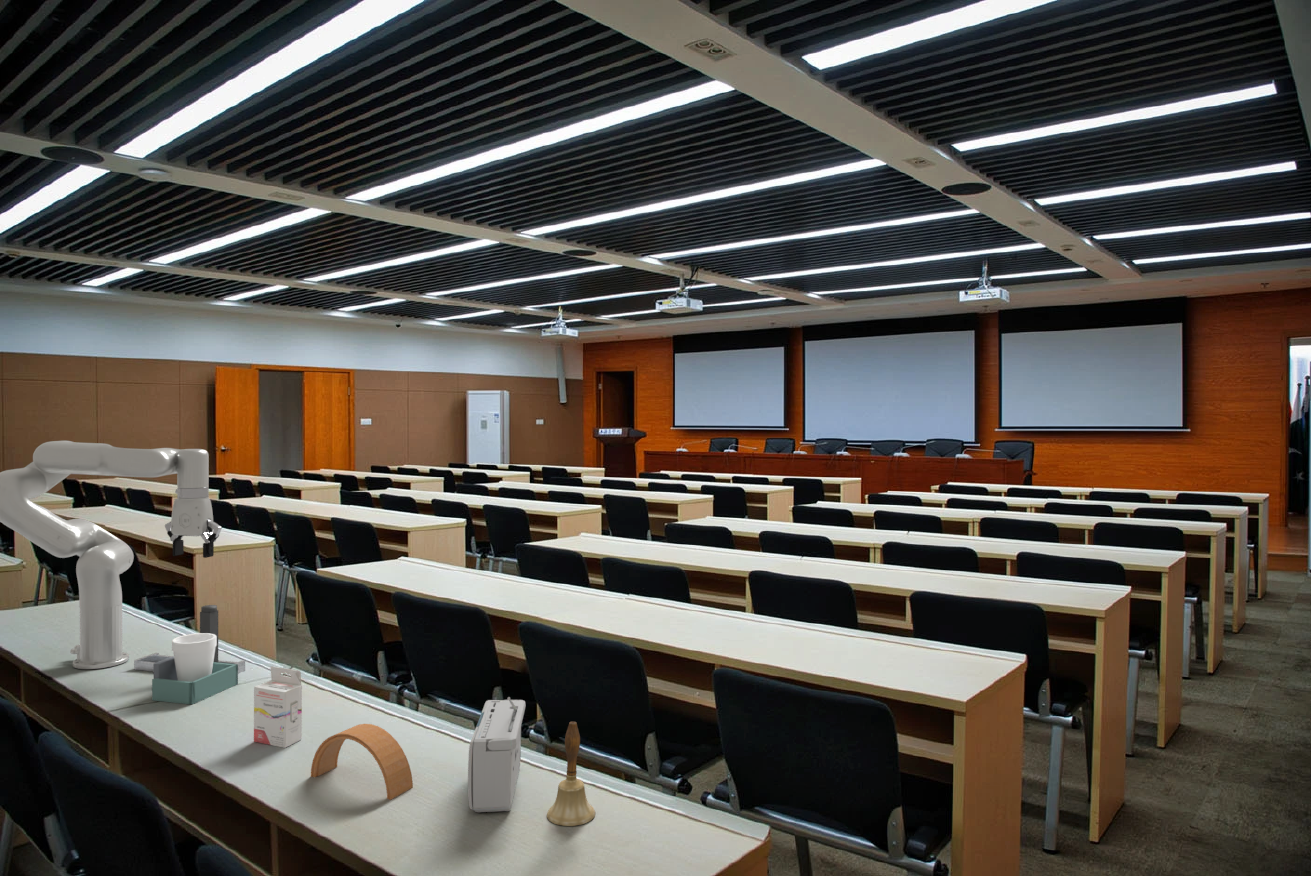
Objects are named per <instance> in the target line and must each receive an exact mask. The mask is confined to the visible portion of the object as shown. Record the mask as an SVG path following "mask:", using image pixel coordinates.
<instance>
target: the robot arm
mask: <svg viewBox="0 0 1311 876" xmlns="http://www.w3.org/2000/svg"><path fill="white" fill-rule="evenodd" d="M209 456H210V454H209V452H208V451H207V450H206V449H202V448H185V449H181V448H180V449H179V448H173V447H161V448H160V447H159V448H158V447H157V448H151V449H150V448H128V447H127V448H126V447H125V448H124V447H118V446H117V447H116V446H113V445H111V444H109V443H103V442H102V443H100V442H98V443H97V442H96V443H95V442H78V441H77V442H74V441H71V440H54V441H53V440H52V441H46V442H43V443H41V444H40V445H39V446H37V447H36V448H35V450H34V452H33V454H32V461H31V462H30V463H28V464H27V465H26V466H25V467H21V468H14V469H13V468H12V469H6V470H3V471H1V472H0V523H2V525H4V526H6V527H7V528H9V529H11V530H13V531H14V532H16V533H18V534H19V535H20V536H22V537H24V538H25V539H26V540H28V541H30V542H31V543H33V544H34V545H36V546H38V547H40V549H42V550H44V551H45V552H47V553H48V554H50V555H52V556H54V557H56V558H60V559H61V558H62V559H65V558H70V557H73V556H77V557H79V558H78V560H77V561H76V566H75V567H76V568H75V573H76V578H77V579H76V580H77V584H78V585H77V586H78V597H79V598H78V599H79V606H78V607H79V644H76V645H75V646H74V647H73V648H71V649H70V654H72V655H76V659H74V660H73V661H72V667H73V668H75V669H78V670H96V669H97V670H99V669H103V668H110V667H114V666H119V665H121V664H125V663H126V662H127V661H128V662H129V660H130V654H128V653H127V652H124V651H123V591H122V584H121V581H120V575H121V574H123V573H124V572H126V571H127V570H129V569H130V568H131V566H132V565H133V562H134V557H135V555H134V552H133V550H132V548H131V547H130V546H129V545H128V543H126V542H125V541H123V540H122V539H120V538H119V537H117V536H115V535H114V534H112V533H110V531H107V530H106V529H104V528H102V527H101V526H100V525H98V524H96V523H95V522H92V521H90V520H88V519H84V518H73V519H68V520H67V519H64V518H63V517H61V516H59V515H57V514H55V513H53V512H52V511H50V509H48V508H46V507H44V506H42V505H40V504H38V503H36V502H33V501H31V500H30V499H35V498H38V497H40V496H42V495H44V494H46V493H47V492H49V491H50V490H52V488H54V487H55V486H56V485H58V484H60V483H61V482H63V480H65V479H66V478H67V477H68V476H70V475H88V476H90V475H91V476H107V477H108V476H109V477H110V476H111V477H112V476H113V477H130V478H133V477H134V478H159V477H164V476H170V475H176V474H177V476H176V477H177V478H176V480H177V482H176V483H177V484H176V486H177V487H176V488H177V489H175V491H174V493H175V494H176V495H177V498H175V499H174V502H173V505H172V509H171V511H172V512H171V521H169V522H167V523H165V525H164V528H165V530H166V533H167V536H168V537H169V538H170V539H169V540H170V541H171V542H172V556H173V557H176V556H182V555H184V553H185V551H184V547H185V545H184V542H185V541H184V539H183V537H201V539H202V540H203V541H204V542H203V543H202V557H203V558H204V559H205V558H210V557H211V558H212V557H214V553H215V552H214V547H215V546H214V542H216V541H217V539H218V538H219V536H220V533H221V531H222V529H223V527H222V526H221V525H219V524H218V523H217V522H215V521H214V515H213V507H212V506H213V505H212V500H211V498H210V493H209V492H210V490H209V489H210V488H209V481H210V480H209V477H210V475H209V473H210V471H209V468H210V467H209V463H210V462H209V460H210V458H209Z"/></svg>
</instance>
